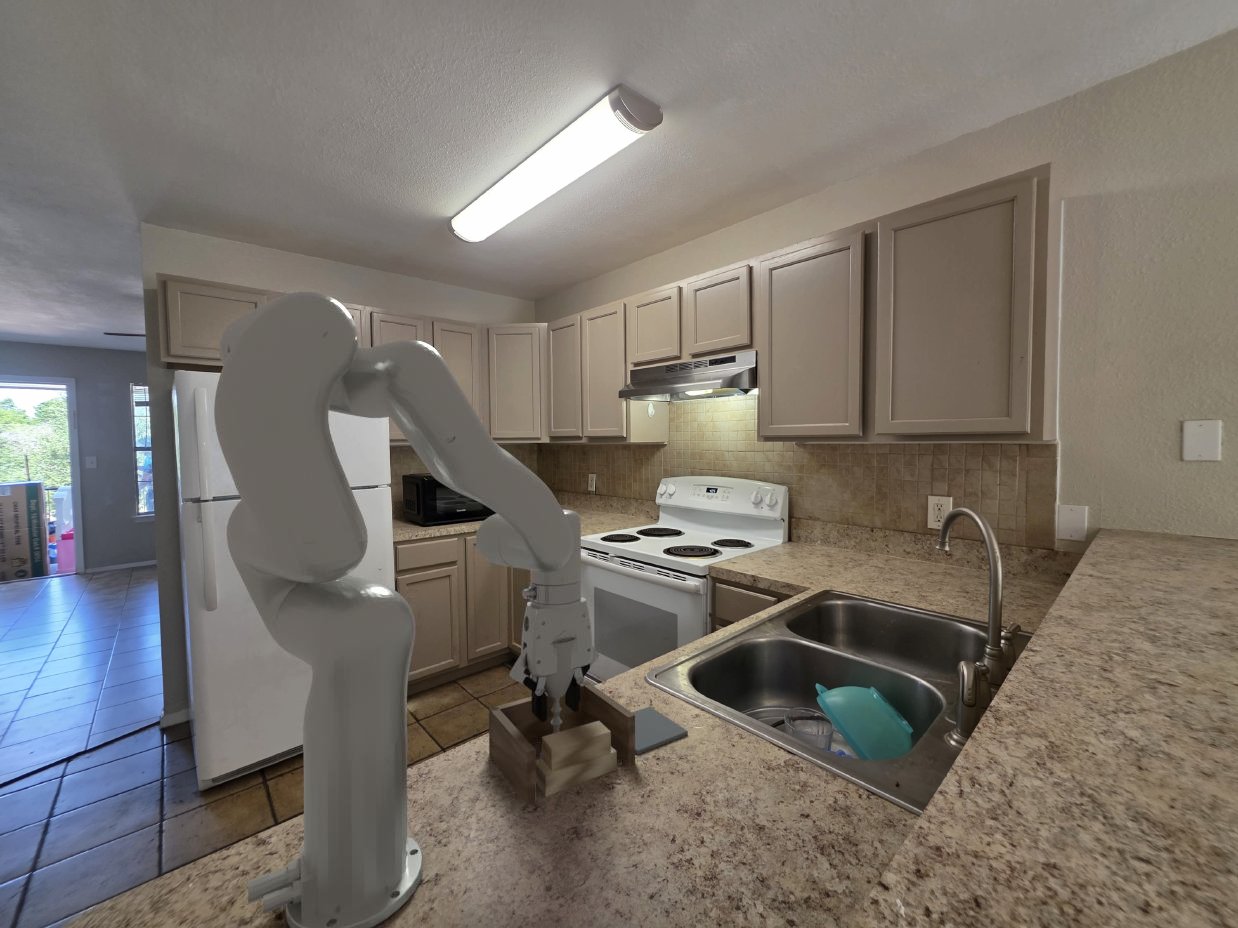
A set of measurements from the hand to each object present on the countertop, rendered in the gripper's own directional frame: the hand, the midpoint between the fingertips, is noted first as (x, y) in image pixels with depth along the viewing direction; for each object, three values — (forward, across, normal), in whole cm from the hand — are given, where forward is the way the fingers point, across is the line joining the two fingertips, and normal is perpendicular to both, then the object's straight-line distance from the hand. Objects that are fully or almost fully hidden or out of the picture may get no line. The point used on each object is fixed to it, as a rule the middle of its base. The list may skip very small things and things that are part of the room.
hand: (556, 711), depth 77 cm
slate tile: (+6, +15, -2) cm, 16 cm away
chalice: (+7, 0, 0) cm, 7 cm away
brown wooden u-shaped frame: (+6, 0, -2) cm, 7 cm away
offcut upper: (+4, 0, -6) cm, 7 cm away
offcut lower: (+7, 0, -6) cm, 9 cm away
